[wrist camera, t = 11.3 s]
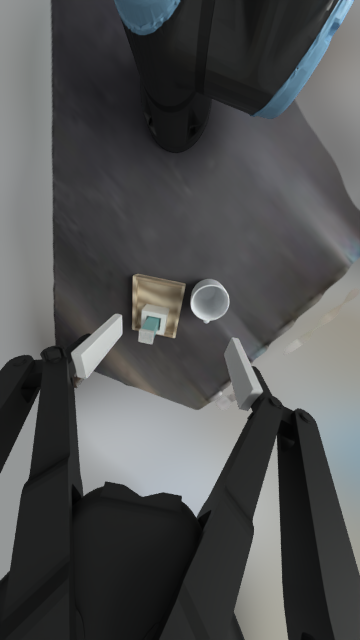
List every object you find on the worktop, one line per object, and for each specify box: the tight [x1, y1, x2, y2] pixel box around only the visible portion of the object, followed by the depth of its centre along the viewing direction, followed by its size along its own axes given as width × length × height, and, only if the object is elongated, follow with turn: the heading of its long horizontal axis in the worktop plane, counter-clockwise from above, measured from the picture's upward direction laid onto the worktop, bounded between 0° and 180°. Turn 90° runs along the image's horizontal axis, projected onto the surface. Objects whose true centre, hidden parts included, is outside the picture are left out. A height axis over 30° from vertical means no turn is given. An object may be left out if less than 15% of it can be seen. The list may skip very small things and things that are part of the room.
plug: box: [139, 316, 160, 344], centre depth 48 cm, size 4×4×12 cm
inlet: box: [141, 304, 169, 335], centre depth 54 cm, size 9×9×6 cm
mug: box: [191, 279, 229, 323], centre depth 46 cm, size 15×11×13 cm
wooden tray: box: [132, 274, 186, 338], centre depth 53 cm, size 22×18×4 cm
